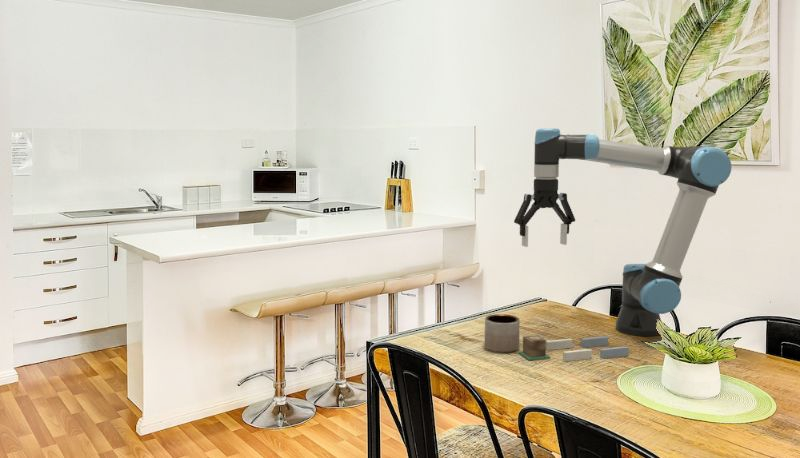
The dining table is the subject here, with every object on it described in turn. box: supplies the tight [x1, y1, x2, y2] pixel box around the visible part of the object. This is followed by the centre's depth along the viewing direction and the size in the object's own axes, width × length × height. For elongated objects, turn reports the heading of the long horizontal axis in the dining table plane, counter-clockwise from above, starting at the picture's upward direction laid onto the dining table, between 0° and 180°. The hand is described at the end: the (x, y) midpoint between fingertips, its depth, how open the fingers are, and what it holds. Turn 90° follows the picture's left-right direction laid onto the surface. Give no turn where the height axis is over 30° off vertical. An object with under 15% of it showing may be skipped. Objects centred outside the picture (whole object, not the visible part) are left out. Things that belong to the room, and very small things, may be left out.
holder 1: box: [546, 338, 593, 362], centre depth 200 cm, size 9×12×3 cm
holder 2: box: [580, 336, 630, 360], centre depth 203 cm, size 9×12×3 cm
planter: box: [483, 313, 521, 354], centre depth 206 cm, size 11×11×10 cm
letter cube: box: [522, 334, 547, 358], centre depth 198 cm, size 5×5×5 cm
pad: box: [517, 350, 551, 362], centre depth 199 cm, size 7×7×1 cm
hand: (544, 245), depth 208 cm, fingers open, 13 cm apart
